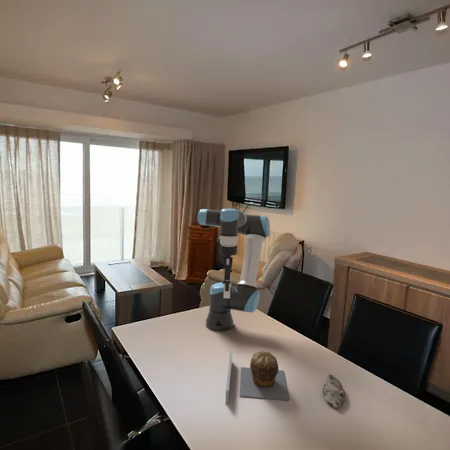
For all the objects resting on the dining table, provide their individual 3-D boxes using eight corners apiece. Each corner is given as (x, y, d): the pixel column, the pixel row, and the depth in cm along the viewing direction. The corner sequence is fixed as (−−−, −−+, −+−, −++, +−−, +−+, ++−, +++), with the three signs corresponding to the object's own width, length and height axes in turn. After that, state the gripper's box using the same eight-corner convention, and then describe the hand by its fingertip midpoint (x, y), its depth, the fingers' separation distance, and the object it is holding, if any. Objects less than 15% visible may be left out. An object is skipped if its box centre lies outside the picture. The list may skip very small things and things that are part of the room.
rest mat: (240, 367, 132) (240, 367, 132) (283, 371, 130) (283, 370, 130) (239, 396, 114) (239, 395, 114) (289, 400, 113) (289, 399, 113)
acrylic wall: (229, 362, 136) (230, 351, 135) (232, 362, 136) (232, 351, 135) (225, 403, 110) (225, 390, 109) (228, 403, 110) (228, 390, 109)
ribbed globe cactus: (244, 385, 120) (246, 356, 118) (255, 370, 129) (257, 343, 128) (271, 395, 115) (273, 365, 113) (280, 379, 124) (282, 351, 123)
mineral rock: (341, 412, 108) (342, 401, 107) (318, 404, 112) (319, 392, 111) (348, 389, 121) (349, 378, 120) (327, 382, 125) (328, 372, 124)
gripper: (221, 238, 146) (220, 282, 149) (218, 251, 121) (217, 303, 125) (237, 239, 146) (235, 282, 149) (237, 252, 121) (235, 303, 124)
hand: (227, 292), depth 137 cm, fingers open, 13 cm apart
